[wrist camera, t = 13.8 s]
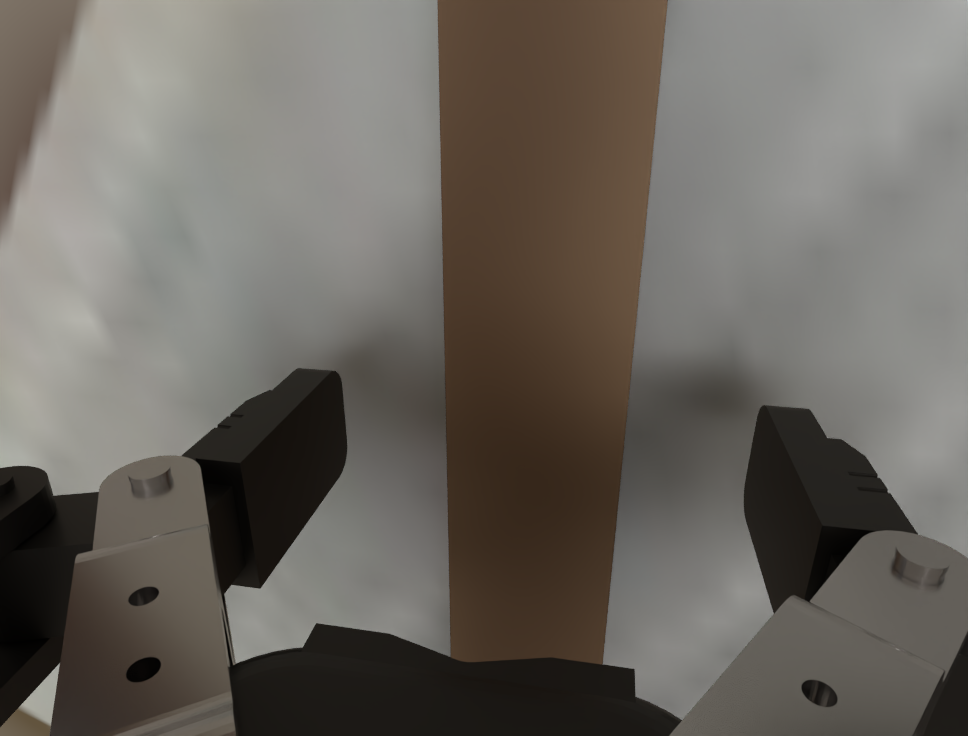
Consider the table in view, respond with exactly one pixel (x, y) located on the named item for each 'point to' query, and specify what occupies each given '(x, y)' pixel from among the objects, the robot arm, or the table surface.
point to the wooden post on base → (540, 307)
